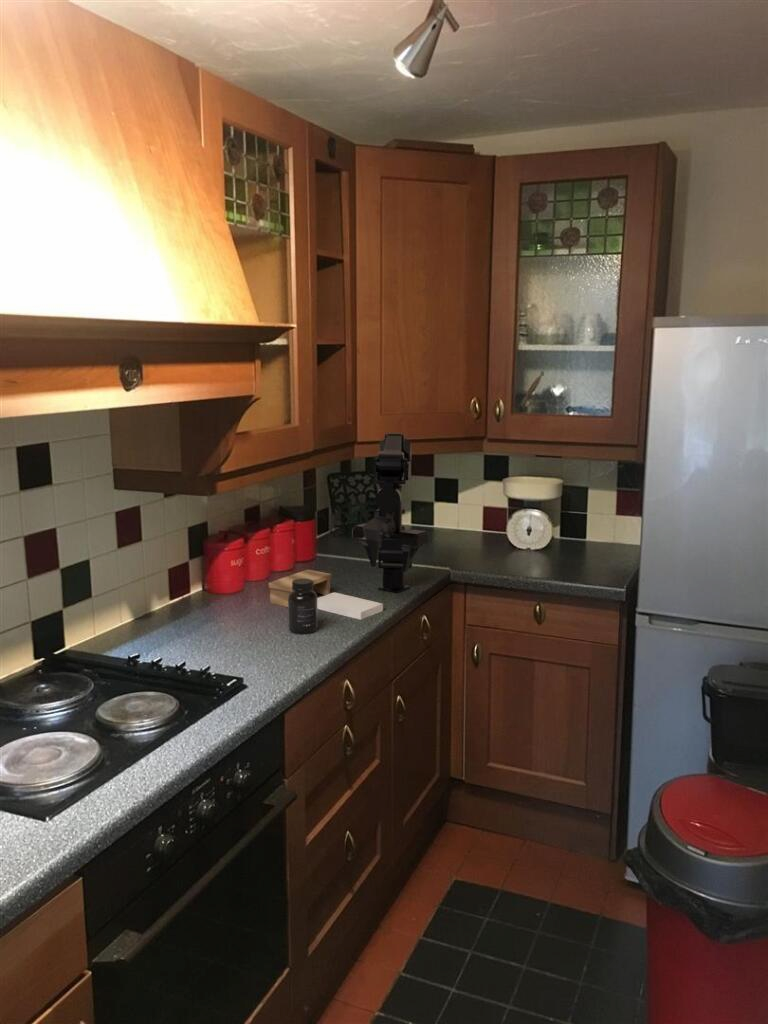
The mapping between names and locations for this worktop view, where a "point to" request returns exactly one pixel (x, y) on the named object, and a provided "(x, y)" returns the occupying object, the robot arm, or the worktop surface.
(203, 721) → the worktop surface
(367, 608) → the panel
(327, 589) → the oak shelf
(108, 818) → the worktop surface
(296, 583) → the supplement bottle
